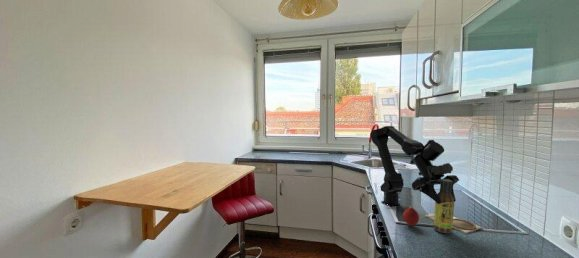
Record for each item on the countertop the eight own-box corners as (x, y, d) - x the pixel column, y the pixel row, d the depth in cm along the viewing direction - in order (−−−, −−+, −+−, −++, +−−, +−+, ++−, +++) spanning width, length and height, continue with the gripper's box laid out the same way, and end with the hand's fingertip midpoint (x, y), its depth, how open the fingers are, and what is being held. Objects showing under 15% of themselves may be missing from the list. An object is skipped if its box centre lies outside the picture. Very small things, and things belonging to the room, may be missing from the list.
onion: (415, 223, 105) (416, 204, 104) (421, 229, 99) (421, 209, 98) (400, 222, 105) (401, 203, 105) (405, 228, 99) (406, 208, 99)
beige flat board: (425, 216, 111) (425, 214, 111) (440, 213, 116) (441, 211, 115) (465, 233, 96) (465, 231, 96) (482, 228, 100) (482, 226, 100)
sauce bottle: (441, 235, 94) (444, 182, 93) (429, 227, 101) (432, 177, 99) (456, 234, 96) (459, 181, 94) (444, 226, 102) (446, 177, 100)
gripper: (418, 156, 97) (441, 194, 88) (456, 155, 103) (482, 190, 93) (403, 172, 106) (422, 208, 96) (438, 170, 111) (460, 204, 101)
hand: (447, 202), depth 96 cm, fingers open, 7 cm apart
